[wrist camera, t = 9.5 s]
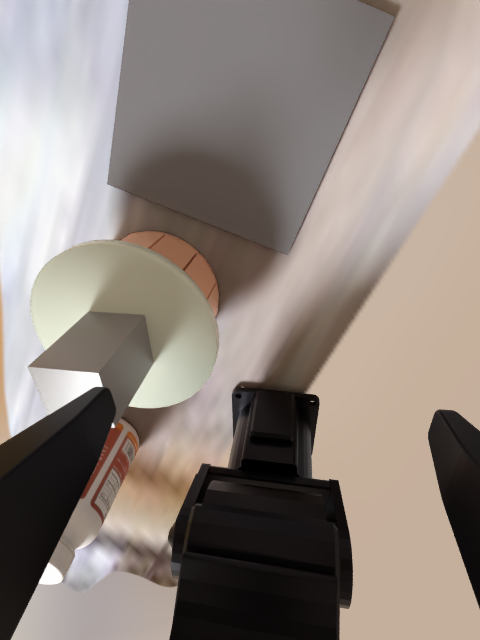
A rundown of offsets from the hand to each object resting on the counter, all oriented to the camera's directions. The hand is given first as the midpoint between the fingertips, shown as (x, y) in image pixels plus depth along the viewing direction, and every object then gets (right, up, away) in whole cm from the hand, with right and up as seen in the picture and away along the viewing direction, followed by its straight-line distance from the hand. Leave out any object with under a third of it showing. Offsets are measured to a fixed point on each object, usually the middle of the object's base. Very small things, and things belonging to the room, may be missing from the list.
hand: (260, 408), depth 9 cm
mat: (-1, +13, +7) cm, 15 cm away
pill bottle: (-13, -8, +22) cm, 27 cm away
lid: (-7, +2, +9) cm, 11 cm away
